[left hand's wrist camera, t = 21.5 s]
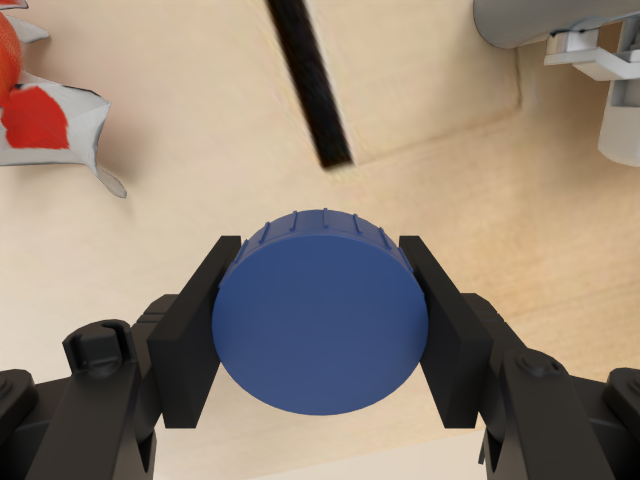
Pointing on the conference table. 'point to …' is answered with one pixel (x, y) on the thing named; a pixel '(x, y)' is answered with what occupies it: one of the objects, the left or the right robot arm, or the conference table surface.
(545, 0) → the jar
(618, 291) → the conference table surface
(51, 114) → the fish
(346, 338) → the lid
